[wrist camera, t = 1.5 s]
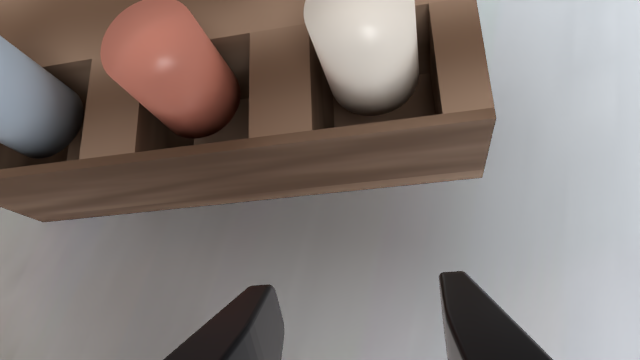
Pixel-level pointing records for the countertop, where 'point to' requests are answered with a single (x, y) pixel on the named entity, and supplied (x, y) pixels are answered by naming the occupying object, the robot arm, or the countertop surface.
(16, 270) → the countertop surface
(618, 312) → the countertop surface
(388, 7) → the white key
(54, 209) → the wooden socket block
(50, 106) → the grey rounded block
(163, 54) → the brick key
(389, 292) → the countertop surface
